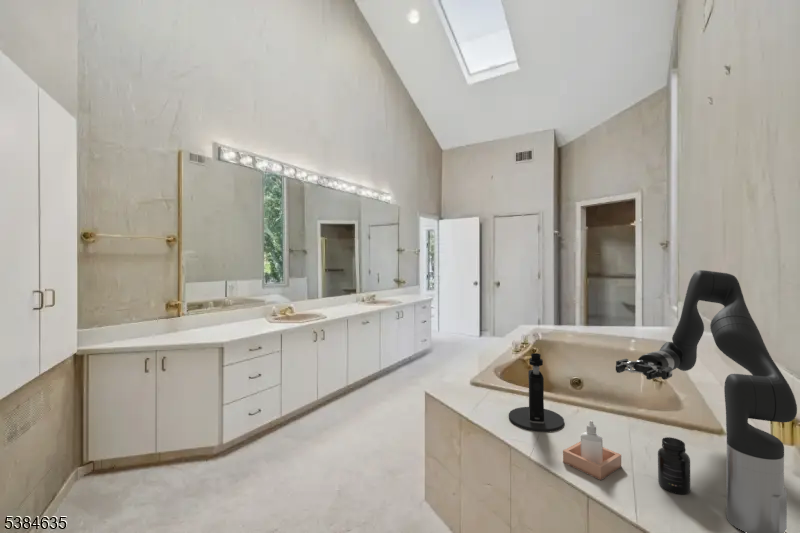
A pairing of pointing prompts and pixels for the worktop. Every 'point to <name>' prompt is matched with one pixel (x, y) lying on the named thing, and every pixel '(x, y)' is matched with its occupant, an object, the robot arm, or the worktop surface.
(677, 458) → the supplement bottle
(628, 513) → the worktop surface
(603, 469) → the tray
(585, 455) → the eye dropper bottle
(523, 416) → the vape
